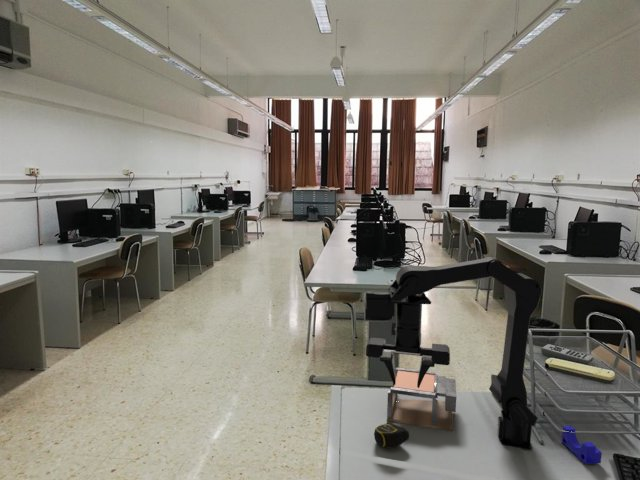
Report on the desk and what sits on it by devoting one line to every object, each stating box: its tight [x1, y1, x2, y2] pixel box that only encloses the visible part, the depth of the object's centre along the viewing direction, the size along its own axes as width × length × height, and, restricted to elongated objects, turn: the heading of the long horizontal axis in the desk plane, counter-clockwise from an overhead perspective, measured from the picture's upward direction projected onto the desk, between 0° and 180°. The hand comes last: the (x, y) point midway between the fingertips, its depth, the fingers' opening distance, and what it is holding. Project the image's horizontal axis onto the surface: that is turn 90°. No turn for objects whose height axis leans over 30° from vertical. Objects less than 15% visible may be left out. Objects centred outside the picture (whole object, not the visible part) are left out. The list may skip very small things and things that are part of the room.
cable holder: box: [560, 425, 603, 465], centre depth 97 cm, size 8×4×4 cm, turn 6°
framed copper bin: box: [386, 366, 454, 432], centre depth 113 cm, size 16×14×8 cm
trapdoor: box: [394, 371, 457, 413], centre depth 112 cm, size 15×10×5 cm, turn 74°
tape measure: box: [373, 421, 410, 449], centre depth 98 cm, size 7×7×4 cm
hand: (406, 385), depth 101 cm, fingers open, 5 cm apart
